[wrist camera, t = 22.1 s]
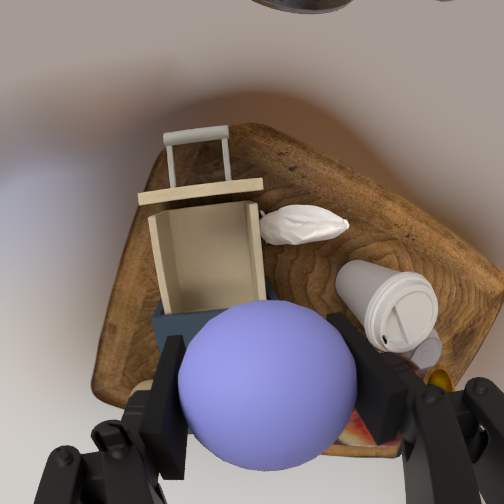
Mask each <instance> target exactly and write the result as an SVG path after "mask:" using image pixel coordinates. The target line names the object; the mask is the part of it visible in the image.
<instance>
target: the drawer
mask: <svg viewBox="0 0 504 504" xmlns="http://www.w3.org/2000/svg"><path fill="white" fill-rule="evenodd" d="M228 138H229V130H228V125H224V126H215V127H205V128H197V129H190V130H183V131H176V132H170V133H164V135H163V141H164V145H165V146H167V158H168V168H169V178H170V187H171V188H170V189H163V190H157V191H150V192H144V193H138V200H139V205H145V204H152V203H158V202H165V201H172V200H180V199H187V198H195V197H203V196H211V195H219V194H228V193H237V192H247V191H257V190H263V180H262V178H254V179H244V180H234V181H232V180H231V171H230V161H229V151H228V141H227V139H228ZM218 139H222V148H223V158H224V168H225V178H226V181H225V182H216V183H208V184H200V185H192V186H184V187H177V186H176V177H175V167H174V157H173V145H179V144H186V143H194V142H201V141H210V140H218ZM148 221H149V228H150V235H151V242H152V248H153V254H154V260H155V266H156V272H157V277H158V282H159V288H160V293H161V298H162V303H163V308H164V312H165V314H176V313H186V312H196V311H205V310H214V309H223V308H231V307H233V306H237V305H241V304H245V303H249V302H253V301H256V300H266V289H265V278H264V267H263V256H262V246H261V235H260V225H259V214H258V204H257V203H255V202H252V201H250V200H246V201H237V202H228V203H219V204H211V205H203V206H195V207H187V208H180V209H172V210H165V211H162V212H159V213H157V214H155V215H152V216H150V217H148Z"/></svg>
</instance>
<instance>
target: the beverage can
mask: <svg viewBox="0 0 504 504" xmlns="http://www.w3.org/2000/svg"><path fill="white" fill-rule="evenodd" d="M441 351H442V344H441V341H440V340H439V337H438V334H437V332H436V331H435V330H434V329H432V330H431V332H430V334H429V335H428V336H427V338H426V339H425V340H424V341H423V342H422V343H421V344H420V345H418V346H417V347H416V348H414V349H412V350H410V351H407V352H403V353H396V352H391V353H394V354H397V355H402V356H406V357H408V358H409V359H411V360H413V361H414V362H415V363H416V364H417V365H418V366H419V367H420V368H421V369H422V368H426V367H429V366H433V365H434V364H435V363H436V362H437V360H438V359H439V357H440V354H441Z"/></svg>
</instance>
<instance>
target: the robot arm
mask: <svg viewBox="0 0 504 504" xmlns="http://www.w3.org/2000/svg"><path fill="white" fill-rule="evenodd" d="M439 1H452V0H439ZM327 321H328V322H329V323H330V324H331V325H333V326H334V327H335V328H336V329H337V330H338V331H339V332H340V334H341V336H342V338H343V339H344V341H345V343H346V345H347V347H348V348H349V350H350V352H351V354H352V356H353V358H354V361H355V365H356V373H357V399H356V403H355V406H354V407H355V409H356V410H357V412H358V414H359V416H360V417H361V419H362V421H363V422H364V424H365V426H366V427H367V429H368V431H369V433H370V434H371V436H372V438H373V439H374V441H375V443H376V445H377V446H380V445H383V444H385V443H388V442H391V441H394V440H395V439H396V435H397V432H398V430H399V432H400V433H401V435H402V436H403V438H402V441H401V444H400V447H399V450H398V452H397V457H399V456H400V454H401V451H402V459H403V468H404V479H405V491H406V504H482V503H481V499H480V494H481V495H482V497H483V499H484V501H485V502H486V504H504V393H503V392H502V391H501V390H500V389H499V388H498V387H497V386H496V385H495V384H494V383H493V382H492V381H490V380H489V379H486V378H483V377H476V378H472V379H470V380H469V381H468V382H467V384H466V386H465V389H464V390H461V391H455V392H449V393H447V392H446V390H444V389H443V388H441V387H438V386H435V385H428V386H427V385H426V384H425V383H424V381H423V380H422V379H421V378H420V377H419V376H418V375H417V374H416V373H415V372H414V371H413V370H412V369H410V367H409V366H408V365H407V364H405V362H404V361H403V360H402V359H401V358H400V357H399V356H398V355H396V354H394V353H391V352H389V351H388V352H385V353H381V354H379V353H378V352H377V351H376V350H375V349H374V348H373V346H372V345H371V344H370V343H369V342H368V341H367V340H366V339H365V338H364V337H363V335H362V334H361V333H360V332H359V331H358V330H357V329H356V328H355V327H354V326H353V324H352V323H351V322H350V321H349V320H348V319H347V318H346V317H345V316H344V315H343V314H342V312H337V313H331V314H327ZM185 353H186V348H185V343H184V339H183V335H171V336H167V338H166V341H165V344H164V348H163V351H162V354H161V357H160V360H159V363H158V366H157V370H156V373H155V376H154V379H153V383H152V386H151V389H150V390H136V391H135V392H134V393H133V394H132V395H131V396H130V397H129V400H128V402H127V405H126V408H125V411H124V414H123V416H122V419H121V421H119V420H107V421H104V422H101V423H100V424H98V425H97V426H95V428H94V429H93V430H92V432H91V438H92V440H93V441H94V443H95V445H96V446H97V448H98V449H99V451H98V452H92V453H86V454H80V453H79V451H78V449H76V448H75V447H73V446H68V445H66V446H60V447H58V448H56V449H54V450H53V451H52V452H51V454H50V455H49V457H48V460H47V463H46V466H45V469H44V472H43V475H42V478H41V481H40V484H39V487H38V491H37V494H36V497H35V501H34V504H167V502H166V499H165V496H164V494H163V491H162V488H161V486H160V485H159V483H158V476H159V473H160V474H161V476H162V478H163V479H164V480H184V472H185V459H186V447H187V435H188V423H187V422H186V420H185V418H184V416H183V414H182V412H181V408H180V403H179V390H178V373H179V370H180V367H181V364H182V361H183V359H184V356H185ZM481 425H482V426H483V428H484V429H485V430H483V429H482V428H481V427H480V426H481ZM479 492H480V494H479Z"/></svg>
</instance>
